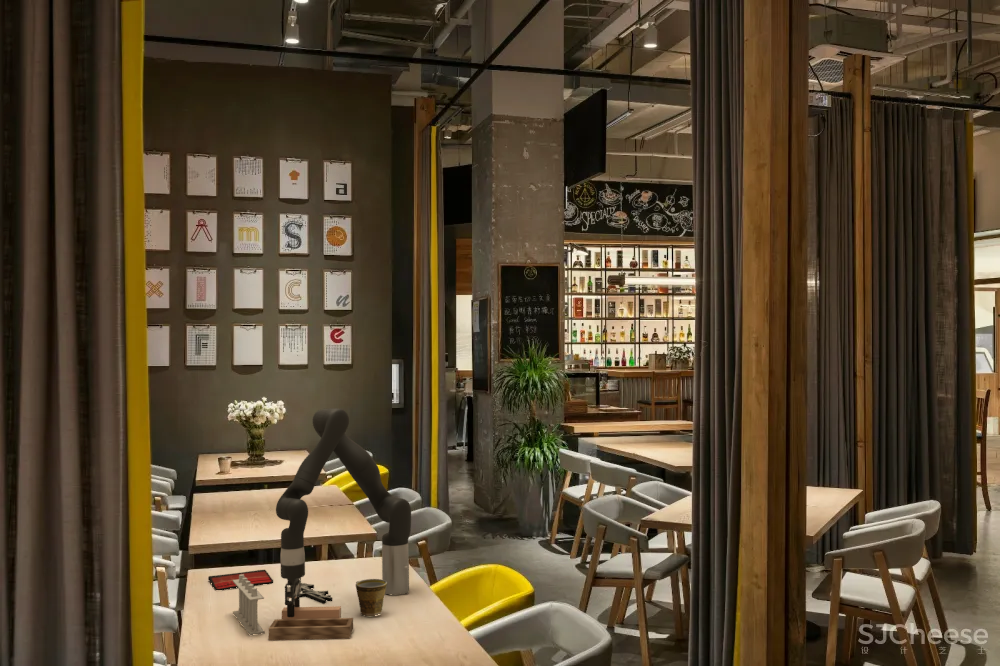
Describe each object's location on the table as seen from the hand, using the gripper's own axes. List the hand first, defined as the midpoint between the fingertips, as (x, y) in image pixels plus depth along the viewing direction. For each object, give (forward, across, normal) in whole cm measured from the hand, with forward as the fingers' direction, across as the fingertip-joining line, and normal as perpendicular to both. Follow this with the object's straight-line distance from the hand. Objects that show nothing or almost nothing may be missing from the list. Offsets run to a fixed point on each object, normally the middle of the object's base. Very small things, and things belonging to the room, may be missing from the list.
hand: (293, 612), depth 280 cm
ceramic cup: (+3, +8, -23) cm, 24 cm away
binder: (+4, +48, +28) cm, 56 cm away
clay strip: (+3, 0, -6) cm, 7 cm away
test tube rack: (+3, 0, +14) cm, 15 cm away
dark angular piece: (+4, +31, 0) cm, 31 cm away
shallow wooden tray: (+3, -12, -8) cm, 15 cm away
